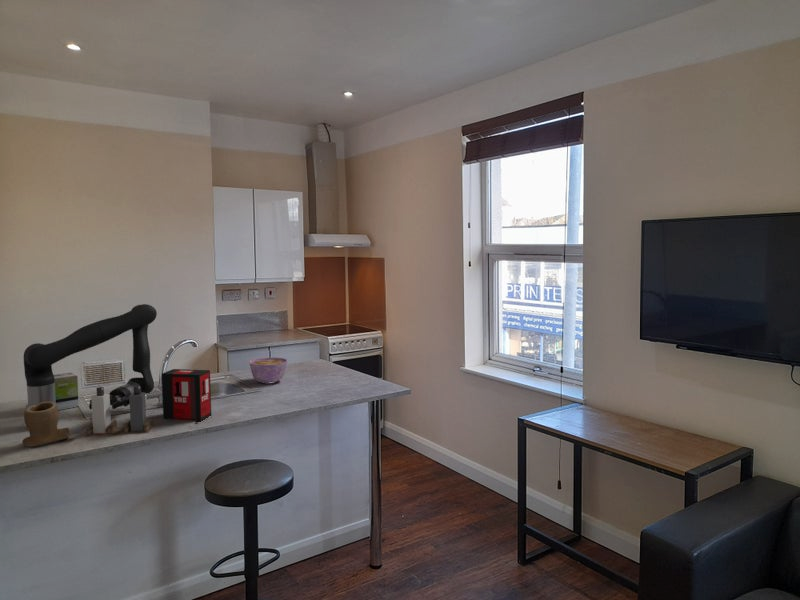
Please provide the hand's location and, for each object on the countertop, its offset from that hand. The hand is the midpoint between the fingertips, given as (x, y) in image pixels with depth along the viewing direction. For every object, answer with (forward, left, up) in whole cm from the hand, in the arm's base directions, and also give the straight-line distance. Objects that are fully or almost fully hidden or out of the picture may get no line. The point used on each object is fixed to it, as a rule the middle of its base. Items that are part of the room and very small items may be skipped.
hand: (101, 406), depth 206 cm
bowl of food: (+59, +71, -11) cm, 94 cm away
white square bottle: (0, 0, -9) cm, 10 cm away
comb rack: (+6, -1, -11) cm, 12 cm away
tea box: (-32, +40, -11) cm, 53 cm away
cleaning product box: (+28, +13, -11) cm, 33 cm away
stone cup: (-17, -7, -11) cm, 21 cm away
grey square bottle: (+13, -1, -10) cm, 16 cm away
